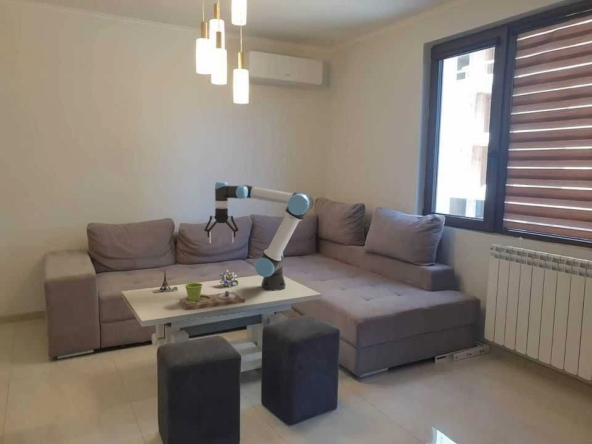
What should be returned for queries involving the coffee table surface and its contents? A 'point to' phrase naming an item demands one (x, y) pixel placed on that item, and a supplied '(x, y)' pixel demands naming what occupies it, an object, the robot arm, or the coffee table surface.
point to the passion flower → (229, 278)
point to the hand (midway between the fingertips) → (221, 242)
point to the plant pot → (193, 291)
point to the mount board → (212, 300)
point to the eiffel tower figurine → (167, 285)
